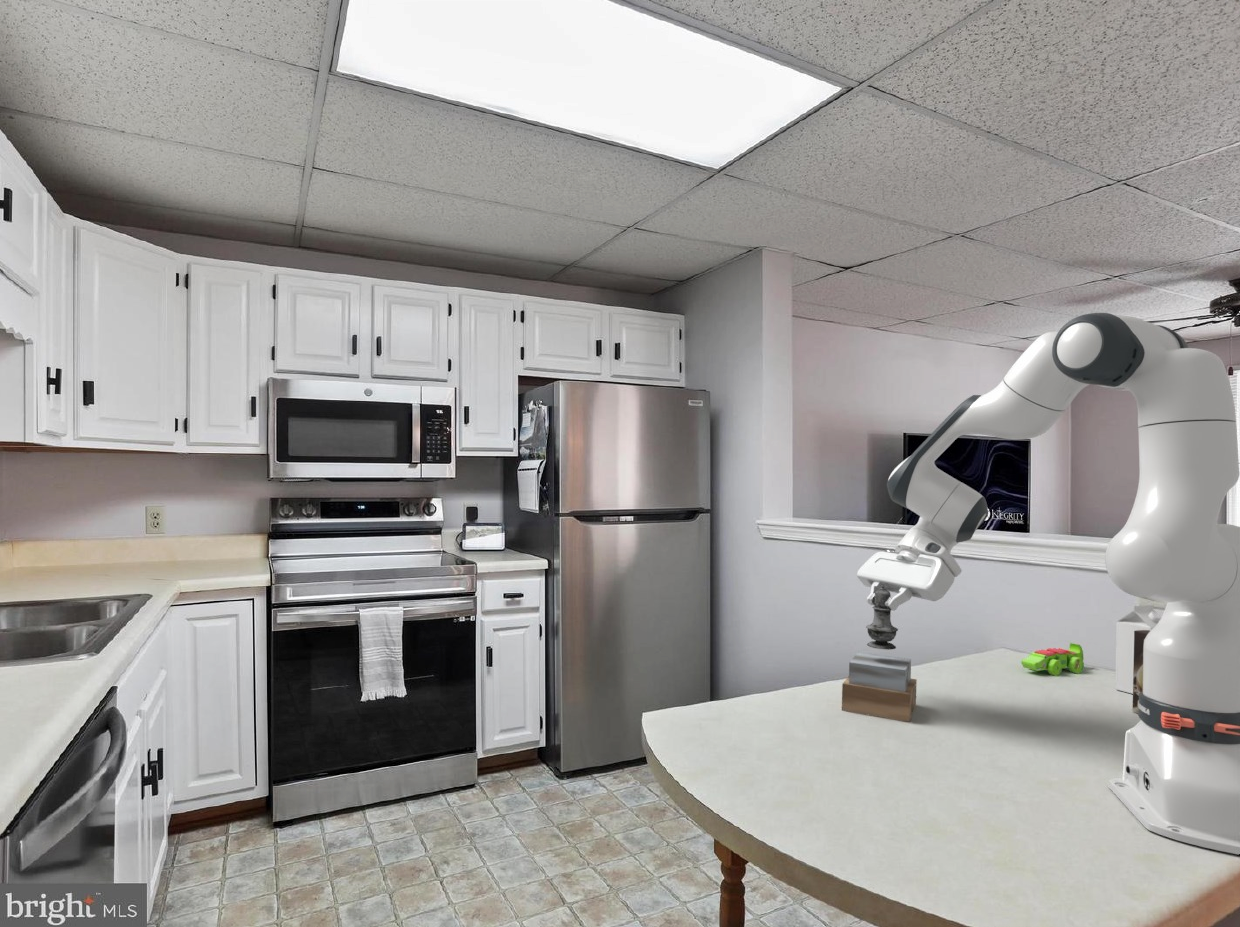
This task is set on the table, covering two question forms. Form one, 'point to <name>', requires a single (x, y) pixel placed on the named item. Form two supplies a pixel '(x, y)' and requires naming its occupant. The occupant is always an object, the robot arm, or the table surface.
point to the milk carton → (1131, 642)
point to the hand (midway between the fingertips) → (879, 605)
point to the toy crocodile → (1056, 660)
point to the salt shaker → (881, 623)
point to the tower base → (879, 701)
